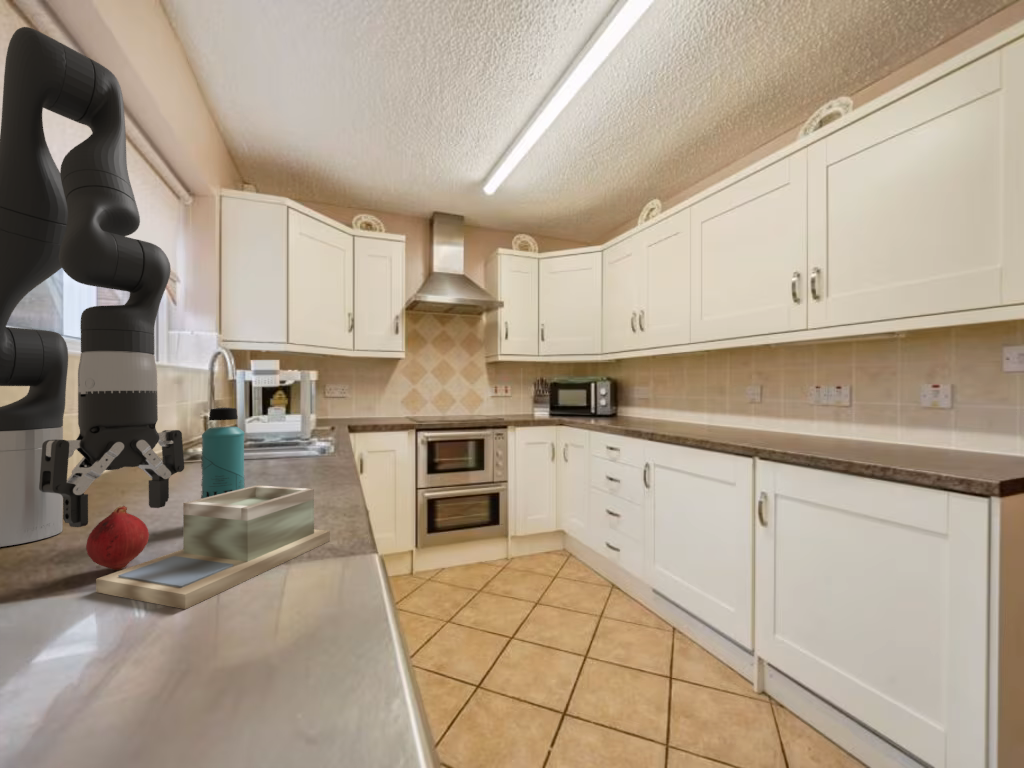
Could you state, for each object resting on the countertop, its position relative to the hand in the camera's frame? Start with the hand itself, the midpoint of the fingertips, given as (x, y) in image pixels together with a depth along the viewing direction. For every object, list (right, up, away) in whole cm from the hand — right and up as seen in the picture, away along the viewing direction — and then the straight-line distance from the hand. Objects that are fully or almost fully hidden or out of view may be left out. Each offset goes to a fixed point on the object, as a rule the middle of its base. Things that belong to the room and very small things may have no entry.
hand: (120, 516), depth 55 cm
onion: (0, -7, 0) cm, 7 cm away
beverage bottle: (0, -8, +20) cm, 21 cm away
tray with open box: (+13, -7, +2) cm, 15 cm away
